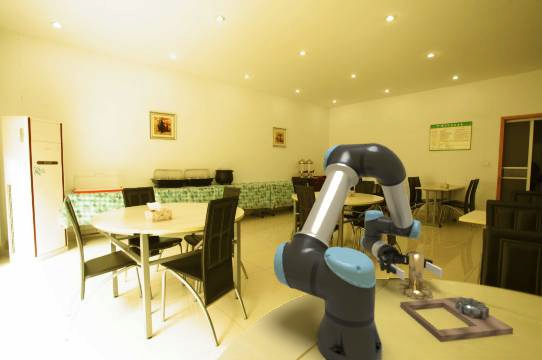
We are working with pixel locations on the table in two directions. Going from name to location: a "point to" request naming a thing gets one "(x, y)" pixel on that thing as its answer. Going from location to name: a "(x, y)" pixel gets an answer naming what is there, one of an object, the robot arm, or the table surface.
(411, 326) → the table surface
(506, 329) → the plate
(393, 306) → the table surface
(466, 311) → the sun gear
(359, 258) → the robot arm
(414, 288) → the planet gear
